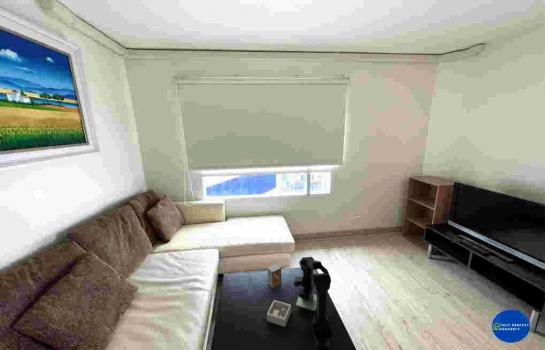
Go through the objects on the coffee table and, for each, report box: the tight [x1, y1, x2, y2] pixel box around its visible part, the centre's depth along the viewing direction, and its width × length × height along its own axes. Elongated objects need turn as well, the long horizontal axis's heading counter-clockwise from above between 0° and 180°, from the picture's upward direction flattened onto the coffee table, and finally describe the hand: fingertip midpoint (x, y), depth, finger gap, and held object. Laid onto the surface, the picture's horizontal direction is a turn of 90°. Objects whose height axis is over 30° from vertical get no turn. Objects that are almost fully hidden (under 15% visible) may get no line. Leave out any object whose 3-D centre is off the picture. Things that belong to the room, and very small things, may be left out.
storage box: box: [266, 299, 292, 328], centre depth 127 cm, size 11×11×5 cm
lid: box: [295, 293, 317, 312], centre depth 133 cm, size 12×12×6 cm
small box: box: [267, 263, 282, 289], centre depth 153 cm, size 8×6×13 cm
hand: (307, 298), depth 133 cm, fingers closed on lid, 2 cm apart
